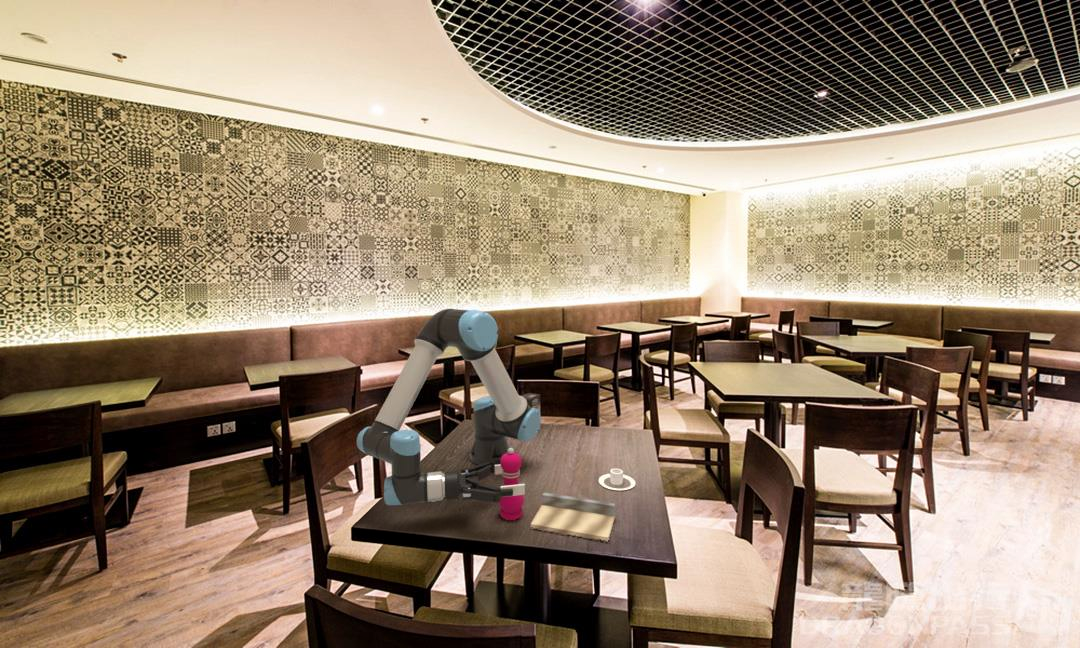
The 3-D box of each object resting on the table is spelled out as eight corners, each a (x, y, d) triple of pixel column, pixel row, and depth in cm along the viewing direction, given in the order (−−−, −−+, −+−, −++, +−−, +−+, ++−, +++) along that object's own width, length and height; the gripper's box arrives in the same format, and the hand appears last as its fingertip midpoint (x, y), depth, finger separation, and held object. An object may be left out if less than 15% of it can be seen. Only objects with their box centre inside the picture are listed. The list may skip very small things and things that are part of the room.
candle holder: (643, 486, 146) (643, 473, 145) (615, 496, 140) (615, 482, 139) (618, 472, 156) (618, 460, 155) (591, 481, 150) (591, 468, 149)
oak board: (530, 529, 121) (530, 513, 121) (543, 507, 132) (543, 492, 132) (608, 543, 115) (608, 526, 114) (614, 518, 126) (615, 503, 126)
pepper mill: (527, 510, 130) (527, 444, 128) (518, 524, 123) (517, 454, 121) (504, 506, 133) (504, 441, 130) (494, 519, 126) (493, 451, 124)
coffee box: (529, 436, 189) (529, 399, 187) (516, 433, 193) (516, 397, 191) (540, 430, 197) (540, 394, 195) (528, 427, 200) (528, 392, 198)
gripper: (444, 478, 135) (513, 471, 140) (444, 523, 111) (528, 513, 116) (443, 454, 134) (513, 448, 139) (443, 494, 110) (528, 485, 115)
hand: (520, 477), depth 127 cm, fingers open, 13 cm apart
